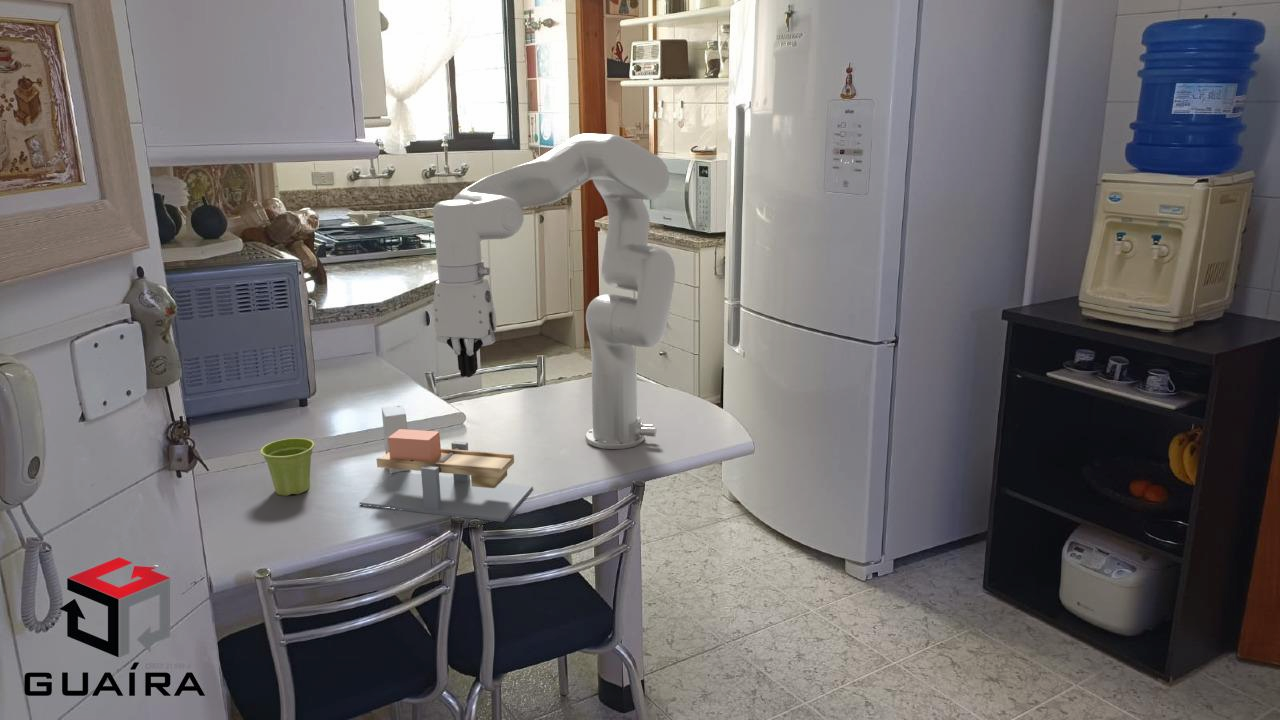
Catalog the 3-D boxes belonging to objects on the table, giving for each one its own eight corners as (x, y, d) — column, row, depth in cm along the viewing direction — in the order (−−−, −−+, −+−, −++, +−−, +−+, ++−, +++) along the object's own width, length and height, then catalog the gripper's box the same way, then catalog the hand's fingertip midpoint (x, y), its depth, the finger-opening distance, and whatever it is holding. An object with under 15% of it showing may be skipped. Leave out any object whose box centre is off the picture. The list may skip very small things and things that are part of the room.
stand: (532, 489, 178) (531, 447, 175) (503, 522, 164) (501, 477, 162) (398, 474, 184) (395, 434, 182) (359, 505, 171) (355, 462, 169)
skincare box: (385, 462, 190) (381, 406, 187) (407, 459, 192) (403, 404, 188) (389, 473, 185) (384, 416, 182) (411, 470, 186) (406, 413, 183)
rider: (441, 454, 174) (439, 431, 173) (430, 463, 170) (428, 440, 169) (401, 451, 176) (399, 429, 175) (390, 460, 172) (387, 437, 171)
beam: (518, 471, 175) (517, 450, 174) (496, 493, 165) (495, 471, 164) (401, 461, 181) (399, 441, 180) (373, 483, 171) (371, 461, 170)
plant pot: (292, 503, 172) (287, 459, 169) (254, 494, 176) (249, 451, 173) (329, 484, 180) (325, 442, 177) (292, 476, 184) (287, 435, 181)
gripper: (509, 270, 163) (515, 370, 169) (430, 267, 167) (439, 365, 172) (492, 279, 156) (499, 384, 162) (410, 276, 160) (420, 378, 165)
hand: (468, 374), depth 167 cm, fingers closed
